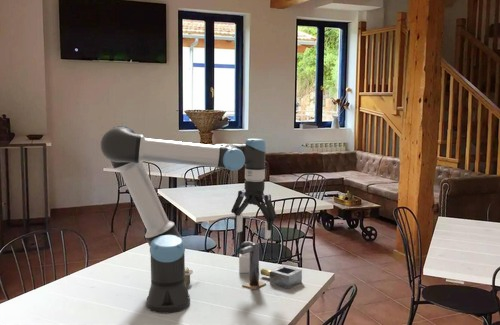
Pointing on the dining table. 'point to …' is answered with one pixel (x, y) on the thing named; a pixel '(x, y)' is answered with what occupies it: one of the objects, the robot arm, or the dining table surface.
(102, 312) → the dining table surface
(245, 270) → the medicine bottle
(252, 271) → the chuck key
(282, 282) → the block
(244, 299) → the dining table surface
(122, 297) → the dining table surface
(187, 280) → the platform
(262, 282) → the copper plate
